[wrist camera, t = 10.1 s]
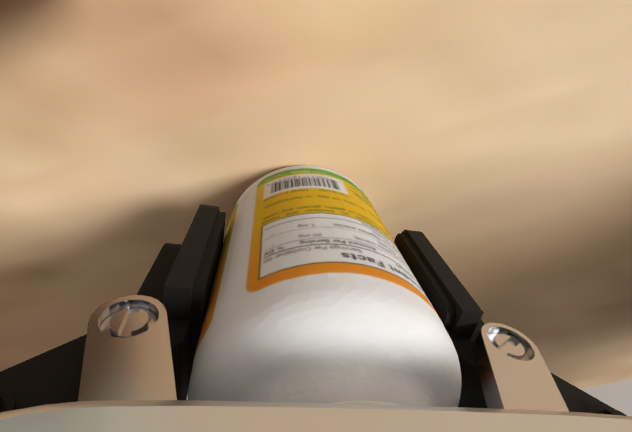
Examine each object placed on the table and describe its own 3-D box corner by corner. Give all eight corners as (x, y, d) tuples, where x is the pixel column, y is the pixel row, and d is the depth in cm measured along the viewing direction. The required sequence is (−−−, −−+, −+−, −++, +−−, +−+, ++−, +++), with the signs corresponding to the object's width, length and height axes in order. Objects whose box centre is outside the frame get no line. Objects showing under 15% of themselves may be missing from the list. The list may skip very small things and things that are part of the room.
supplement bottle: (298, 311, 15) (332, 695, 6) (196, 231, 13) (25, 647, 4) (402, 231, 14) (626, 570, 5) (308, 127, 11) (411, 405, 3)
